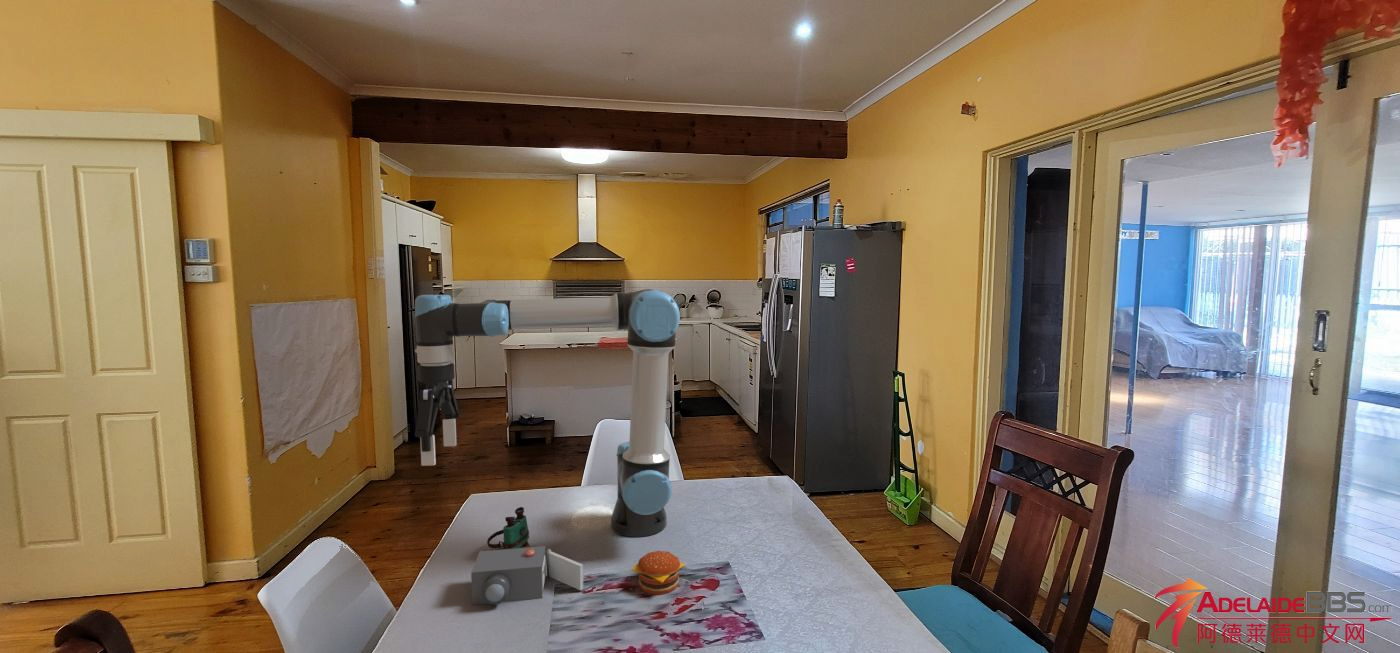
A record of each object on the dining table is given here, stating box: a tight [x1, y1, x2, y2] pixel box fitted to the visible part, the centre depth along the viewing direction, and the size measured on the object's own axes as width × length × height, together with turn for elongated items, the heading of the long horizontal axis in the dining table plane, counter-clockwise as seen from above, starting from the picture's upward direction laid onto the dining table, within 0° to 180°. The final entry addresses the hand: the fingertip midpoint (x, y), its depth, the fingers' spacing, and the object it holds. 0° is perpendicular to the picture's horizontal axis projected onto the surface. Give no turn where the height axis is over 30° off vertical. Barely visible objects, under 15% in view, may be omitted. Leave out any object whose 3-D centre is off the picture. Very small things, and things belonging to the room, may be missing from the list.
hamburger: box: [630, 550, 687, 595], centre depth 124 cm, size 9×10×7 cm
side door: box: [545, 548, 584, 591], centre depth 124 cm, size 1×11×6 cm, turn 55°
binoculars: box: [486, 506, 531, 550], centre depth 137 cm, size 9×11×10 cm
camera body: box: [470, 545, 547, 605], centre depth 120 cm, size 14×12×8 cm
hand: (440, 455), depth 128 cm, fingers open, 13 cm apart
